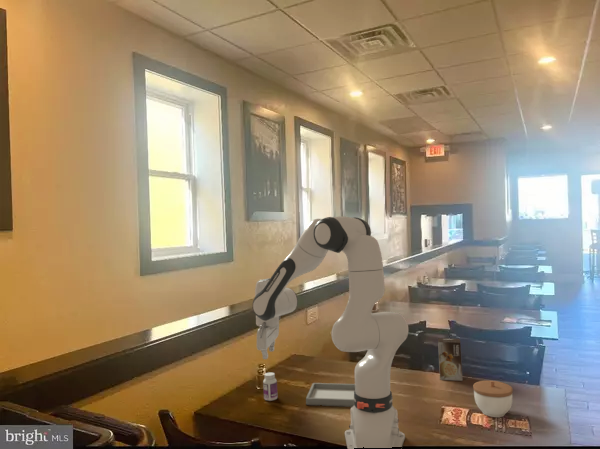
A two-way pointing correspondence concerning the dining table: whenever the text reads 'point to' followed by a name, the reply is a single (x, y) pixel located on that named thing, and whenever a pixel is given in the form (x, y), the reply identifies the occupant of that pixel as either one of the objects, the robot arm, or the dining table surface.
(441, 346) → the food box
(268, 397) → the pill bottle
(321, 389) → the grey tray
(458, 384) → the dining table surface
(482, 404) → the lidded bowl
